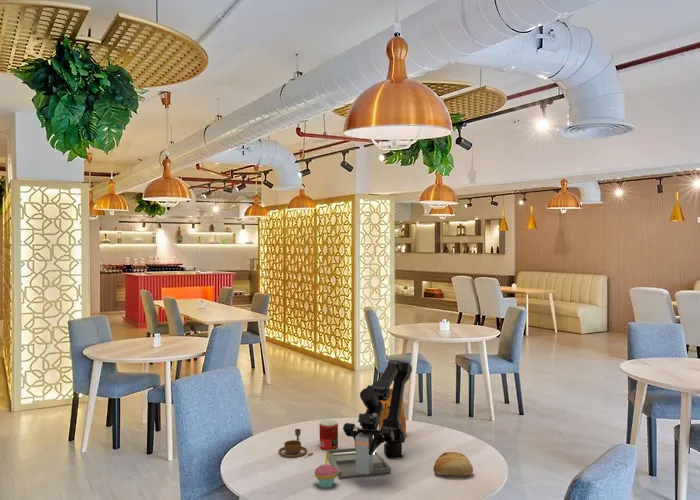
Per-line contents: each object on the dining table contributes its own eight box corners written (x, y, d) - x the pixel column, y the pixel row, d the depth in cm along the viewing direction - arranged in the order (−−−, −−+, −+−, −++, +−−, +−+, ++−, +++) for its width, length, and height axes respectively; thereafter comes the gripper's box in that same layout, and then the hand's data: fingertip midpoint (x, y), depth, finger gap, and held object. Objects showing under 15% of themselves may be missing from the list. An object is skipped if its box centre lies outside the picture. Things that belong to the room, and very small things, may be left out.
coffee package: (406, 440, 265) (406, 390, 265) (378, 439, 266) (378, 390, 266) (405, 432, 275) (405, 385, 275) (378, 432, 276) (378, 385, 276)
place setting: (267, 454, 249) (266, 440, 249) (296, 441, 266) (296, 428, 266) (300, 462, 240) (300, 448, 240) (328, 448, 257) (328, 434, 256)
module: (360, 467, 220) (360, 430, 220) (373, 469, 218) (373, 432, 218) (355, 472, 215) (355, 435, 215) (368, 474, 213) (368, 436, 213)
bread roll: (431, 470, 230) (431, 449, 230) (469, 469, 231) (469, 449, 231) (435, 480, 221) (435, 458, 221) (475, 479, 221) (475, 458, 221)
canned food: (335, 451, 251) (335, 425, 251) (317, 450, 253) (317, 424, 252) (339, 445, 258) (339, 420, 258) (321, 444, 260) (321, 419, 260)
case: (372, 450, 251) (372, 441, 251) (390, 474, 226) (390, 463, 226) (325, 455, 247) (325, 445, 247) (339, 479, 221) (339, 468, 221)
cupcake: (314, 480, 220) (314, 448, 220) (337, 479, 221) (337, 447, 221) (315, 490, 212) (314, 456, 211) (338, 489, 212) (338, 456, 212)
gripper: (344, 401, 223) (333, 439, 213) (391, 406, 217) (382, 446, 207) (352, 416, 231) (341, 454, 221) (398, 421, 224) (389, 460, 214)
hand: (363, 453), depth 215 cm, fingers closed on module, 5 cm apart
